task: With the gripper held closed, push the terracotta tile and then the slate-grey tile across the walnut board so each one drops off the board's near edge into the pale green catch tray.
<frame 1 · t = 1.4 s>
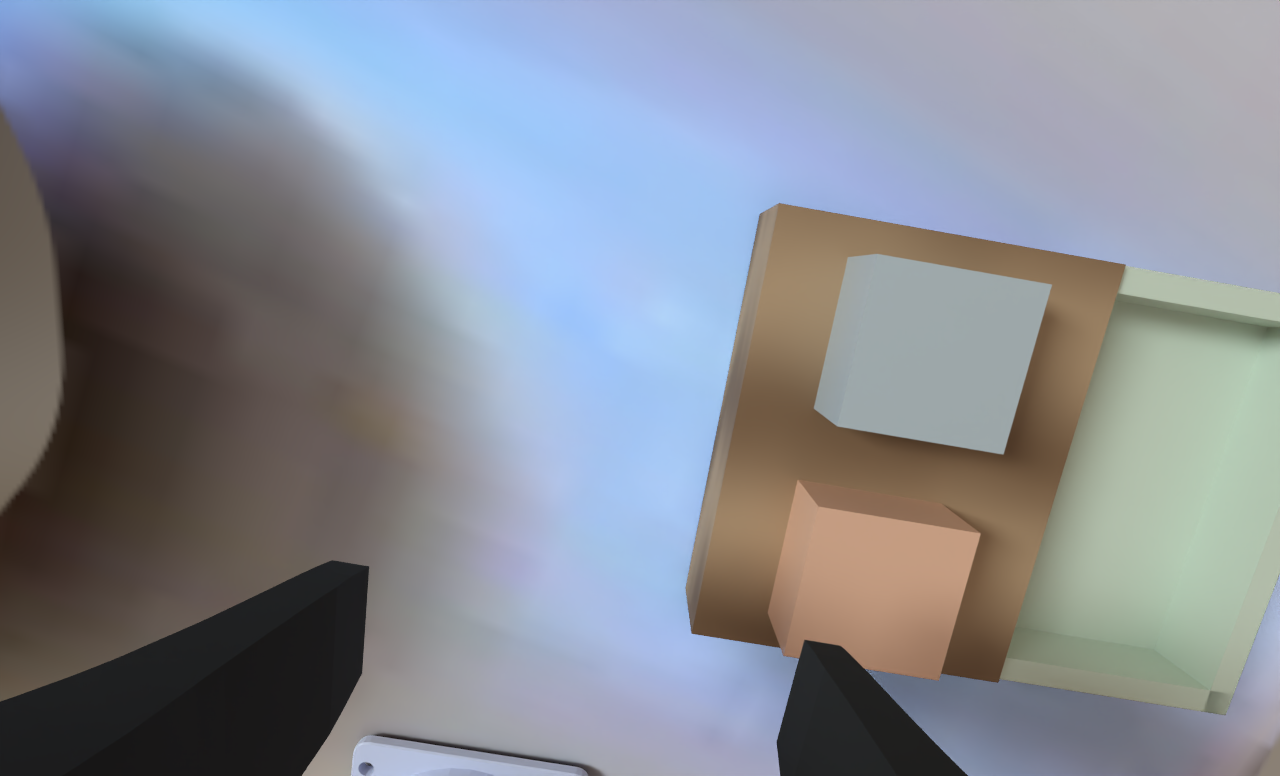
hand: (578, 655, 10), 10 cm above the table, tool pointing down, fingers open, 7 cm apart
slate tile: (905, 347, 16), point 3 cm above the table, touching walnut board
terracotta tile: (852, 559, 17), point 3 cm above the table, touching walnut board
catch tray: (1110, 477, 19), on the table
walnut board: (862, 435, 19), on the table
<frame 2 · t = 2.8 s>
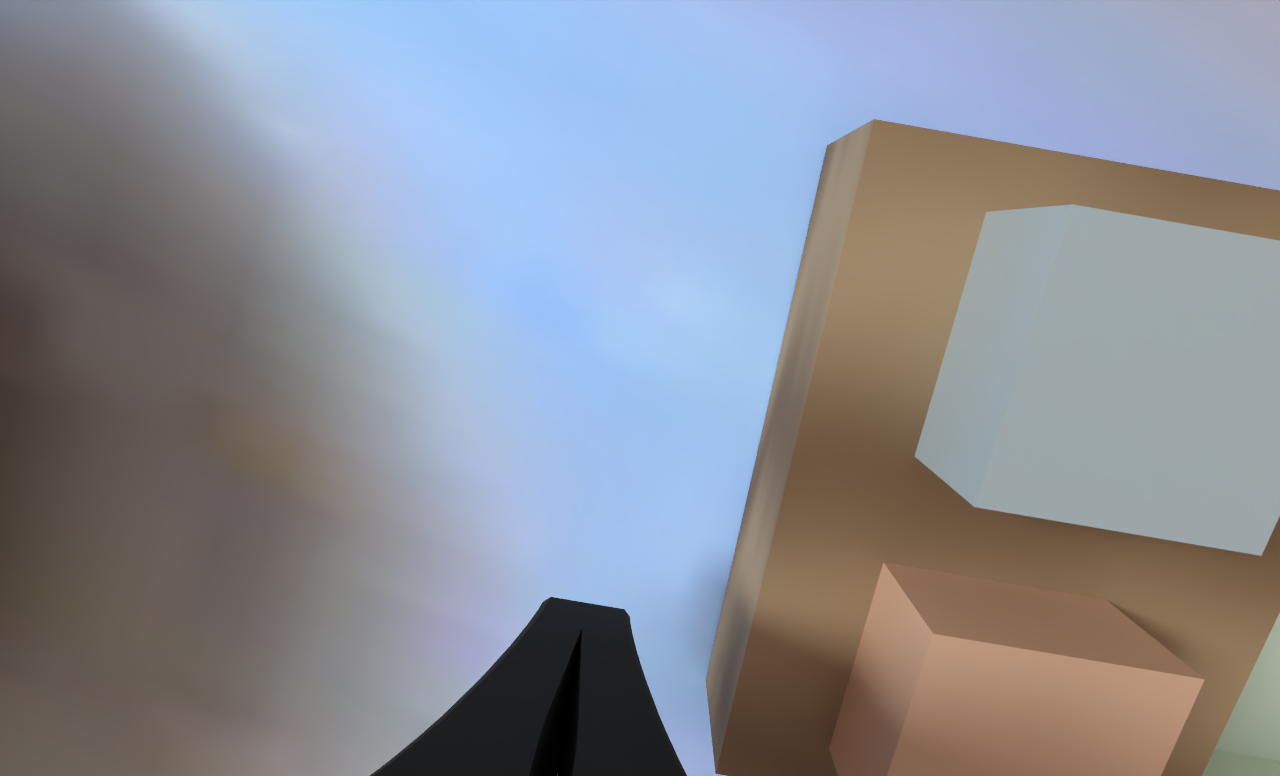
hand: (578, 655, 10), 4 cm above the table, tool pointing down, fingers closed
slate tile: (1071, 361, 10), point 3 cm above the table, touching walnut board
terracotta tile: (961, 677, 11), point 3 cm above the table, touching walnut board
walnut board: (967, 477, 13), on the table
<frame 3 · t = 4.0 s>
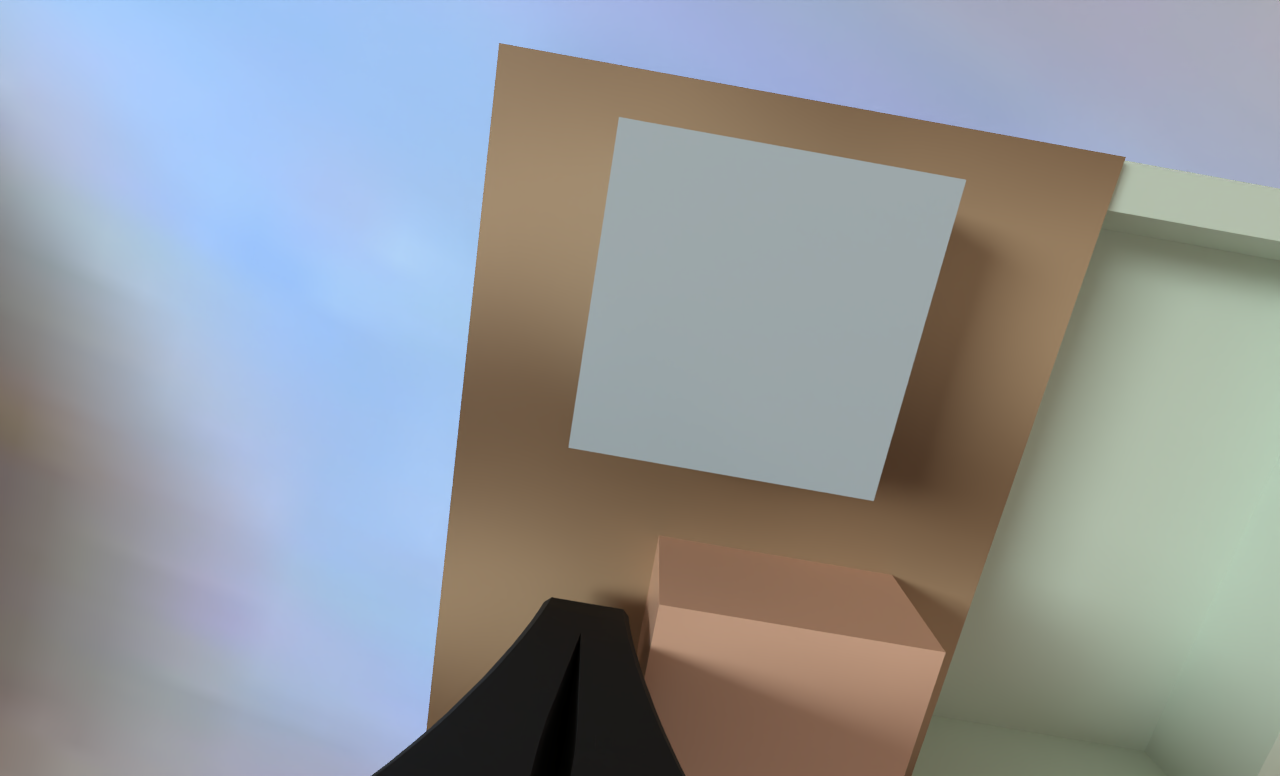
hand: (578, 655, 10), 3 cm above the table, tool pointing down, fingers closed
slate tile: (735, 304, 9), point 3 cm above the table, touching walnut board
terracotta tile: (750, 655, 11), point 3 cm above the table, touching gripper, walnut board
catch tray: (1092, 505, 13), on the table
walnut board: (713, 439, 13), on the table
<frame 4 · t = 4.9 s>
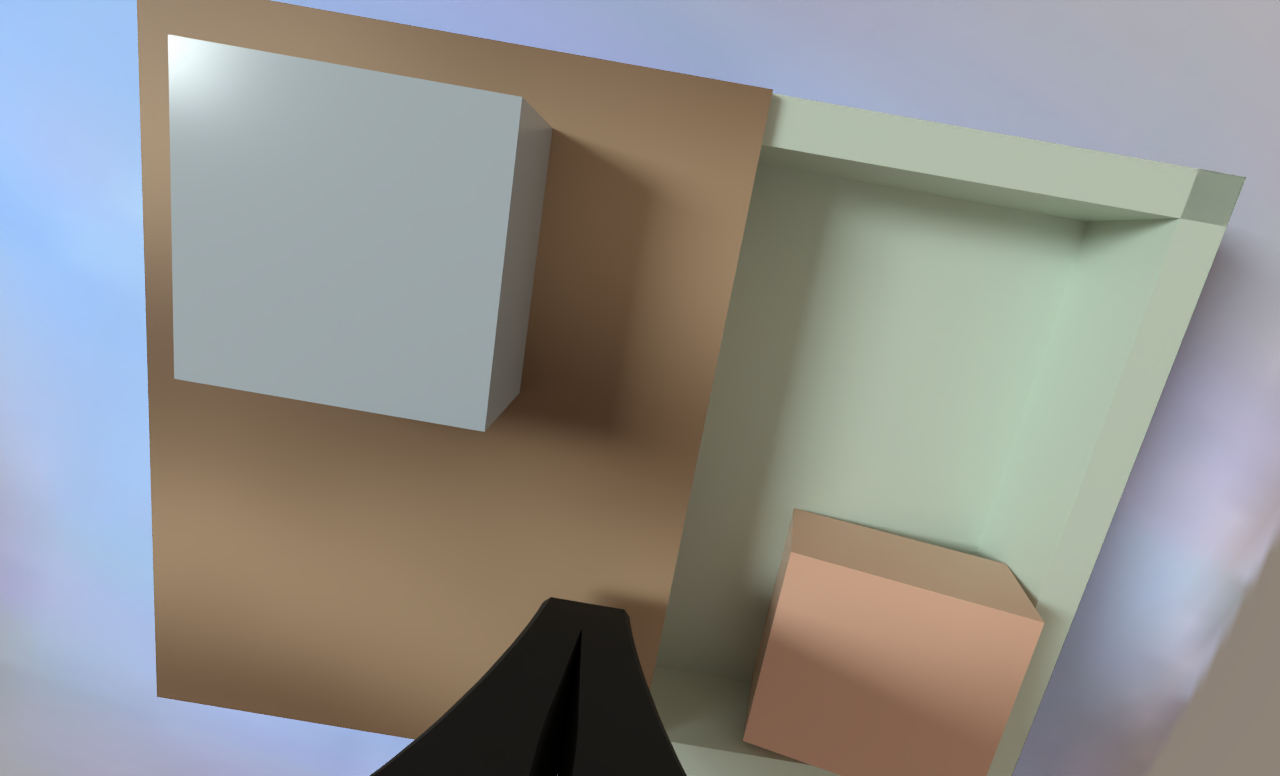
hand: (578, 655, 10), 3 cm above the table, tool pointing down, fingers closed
slate tile: (404, 244, 9), point 3 cm above the table, touching walnut board
terracotta tile: (880, 686, 11), point 3 cm above the table, tilted 166°, touching catch tray
catch tray: (853, 461, 13), on the table
walnut board: (469, 395, 12), on the table
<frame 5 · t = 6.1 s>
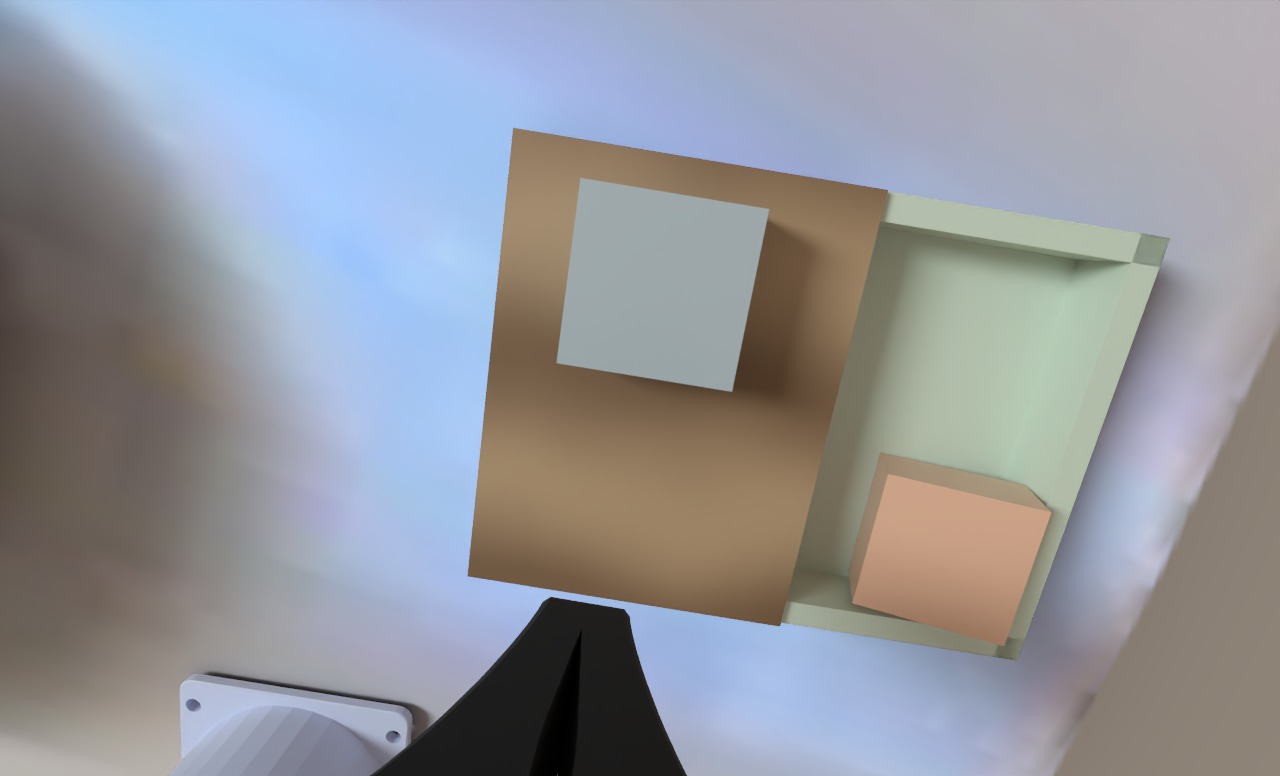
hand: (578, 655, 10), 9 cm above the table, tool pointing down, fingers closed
slate tile: (659, 282, 15), point 3 cm above the table, touching walnut board
terracotta tile: (946, 560, 16), point 3 cm above the table, tilted 166°, touching catch tray
catch tray: (919, 420, 18), on the table
walnut board: (659, 378, 18), on the table
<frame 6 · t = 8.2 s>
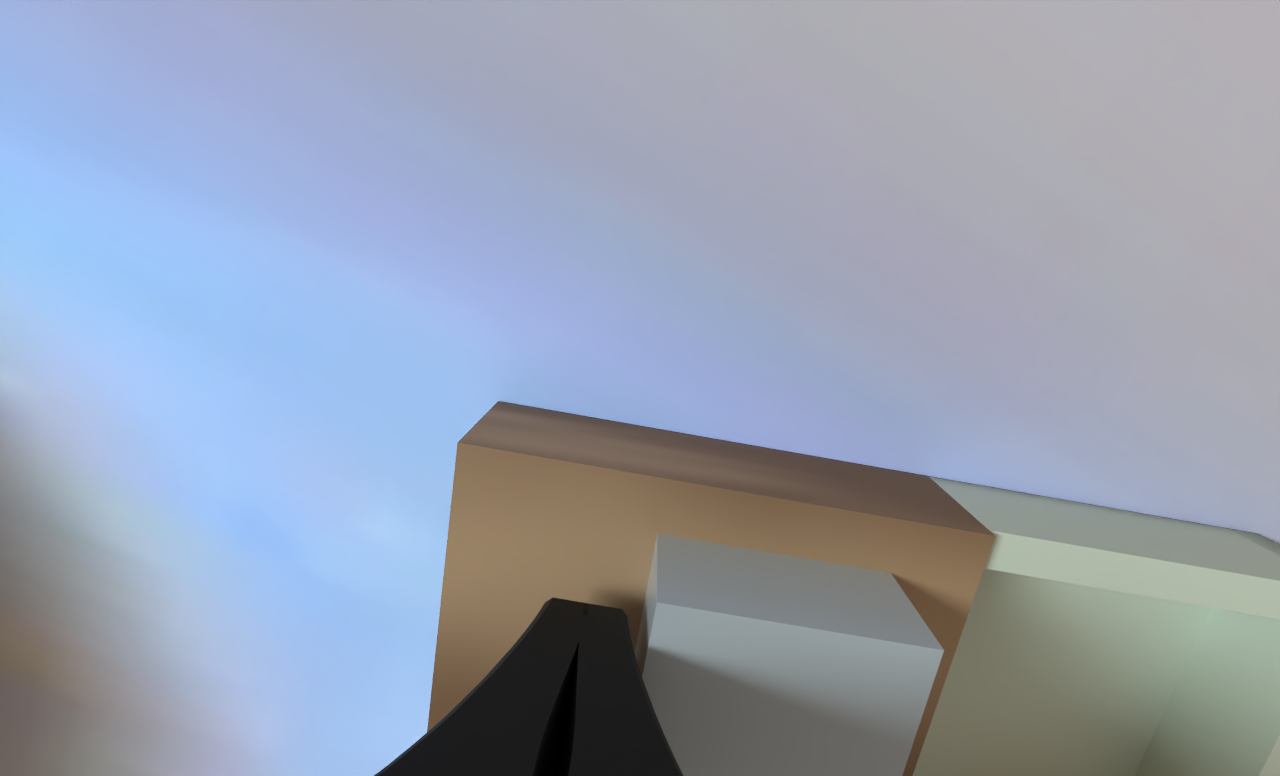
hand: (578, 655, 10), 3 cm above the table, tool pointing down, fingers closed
slate tile: (749, 654, 11), point 3 cm above the table, touching gripper, walnut board
catch tray: (1003, 741, 14), on the table
walnut board: (662, 683, 14), on the table
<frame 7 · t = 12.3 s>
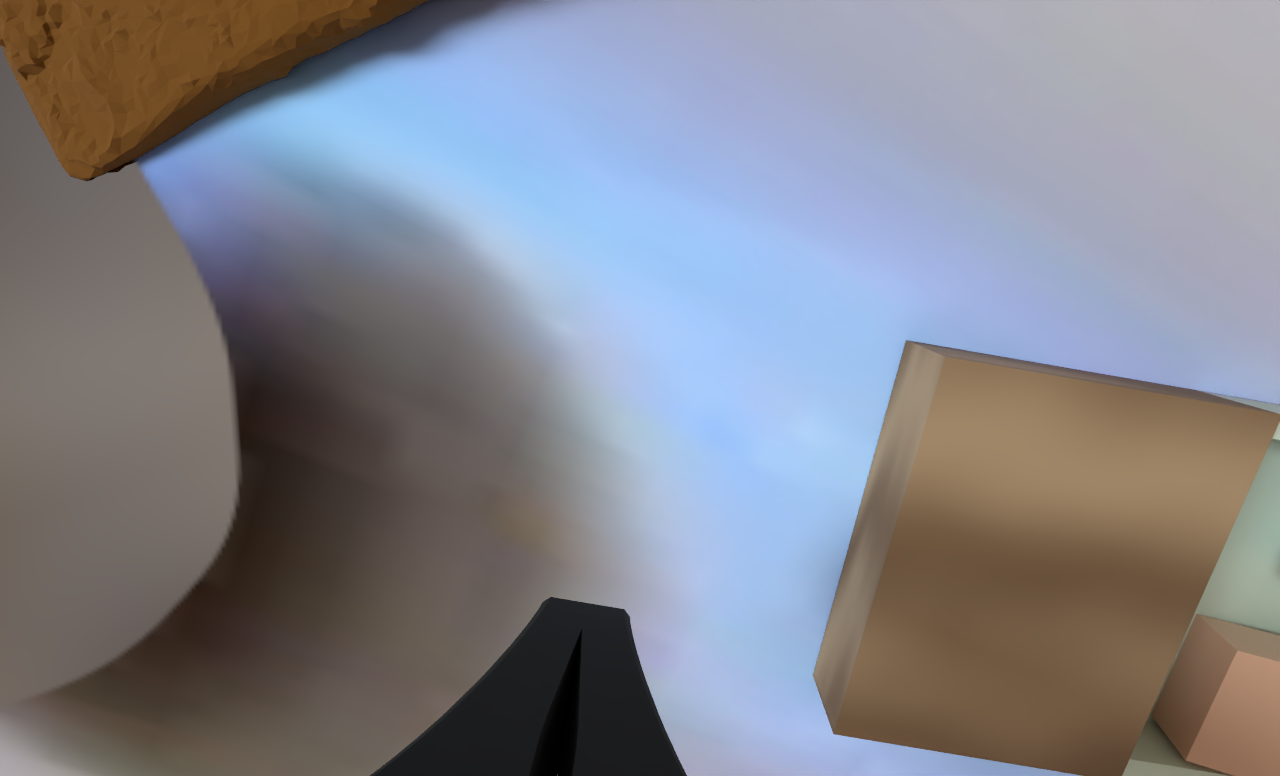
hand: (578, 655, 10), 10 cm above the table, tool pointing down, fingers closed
catch tray: (1231, 583, 20), on the table
walnut board: (991, 542, 20), on the table
primitive tool: (334, 11, 17), on the table
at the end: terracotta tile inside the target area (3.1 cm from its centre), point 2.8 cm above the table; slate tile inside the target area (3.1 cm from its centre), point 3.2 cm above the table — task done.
